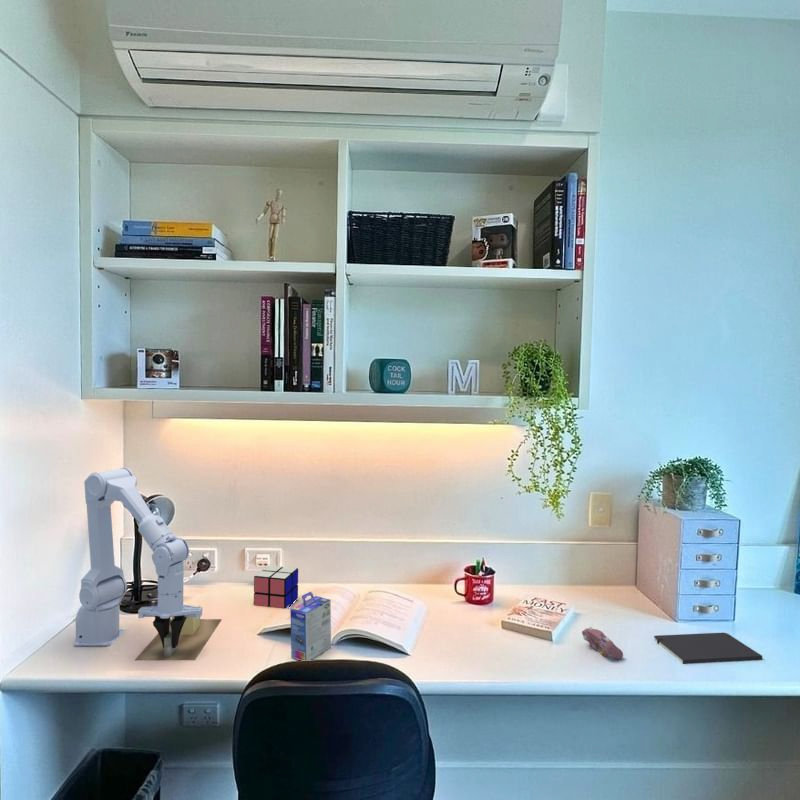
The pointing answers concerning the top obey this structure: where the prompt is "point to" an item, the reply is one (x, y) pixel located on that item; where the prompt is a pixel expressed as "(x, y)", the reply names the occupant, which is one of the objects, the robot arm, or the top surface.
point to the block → (190, 624)
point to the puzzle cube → (276, 587)
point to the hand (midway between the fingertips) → (170, 646)
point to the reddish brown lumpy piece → (601, 643)
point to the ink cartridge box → (310, 627)
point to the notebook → (706, 648)
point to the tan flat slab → (180, 644)
